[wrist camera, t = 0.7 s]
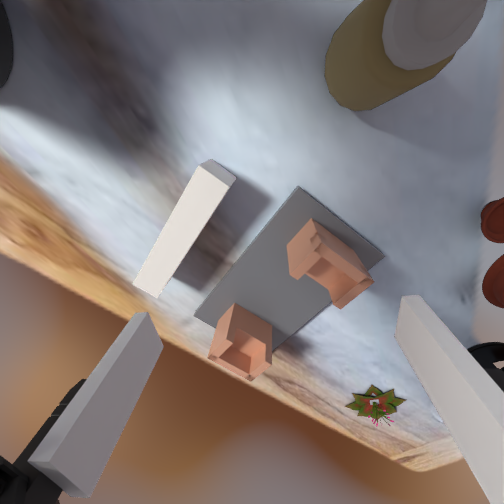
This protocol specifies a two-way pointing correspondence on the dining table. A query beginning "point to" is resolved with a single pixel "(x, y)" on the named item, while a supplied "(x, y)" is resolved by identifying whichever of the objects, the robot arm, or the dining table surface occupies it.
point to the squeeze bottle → (395, 47)
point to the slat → (184, 226)
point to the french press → (488, 354)
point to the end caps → (284, 283)
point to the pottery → (500, 273)
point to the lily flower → (376, 411)
